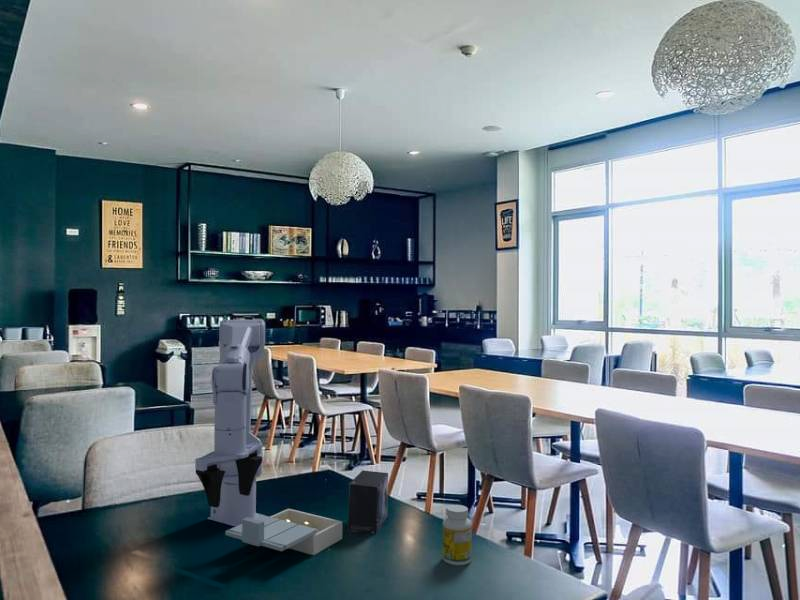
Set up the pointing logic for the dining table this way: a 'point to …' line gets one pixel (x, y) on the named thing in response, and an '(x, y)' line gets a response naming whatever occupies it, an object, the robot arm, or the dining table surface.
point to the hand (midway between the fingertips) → (229, 500)
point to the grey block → (326, 526)
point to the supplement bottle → (457, 536)
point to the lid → (270, 532)
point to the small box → (368, 502)
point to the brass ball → (304, 523)
